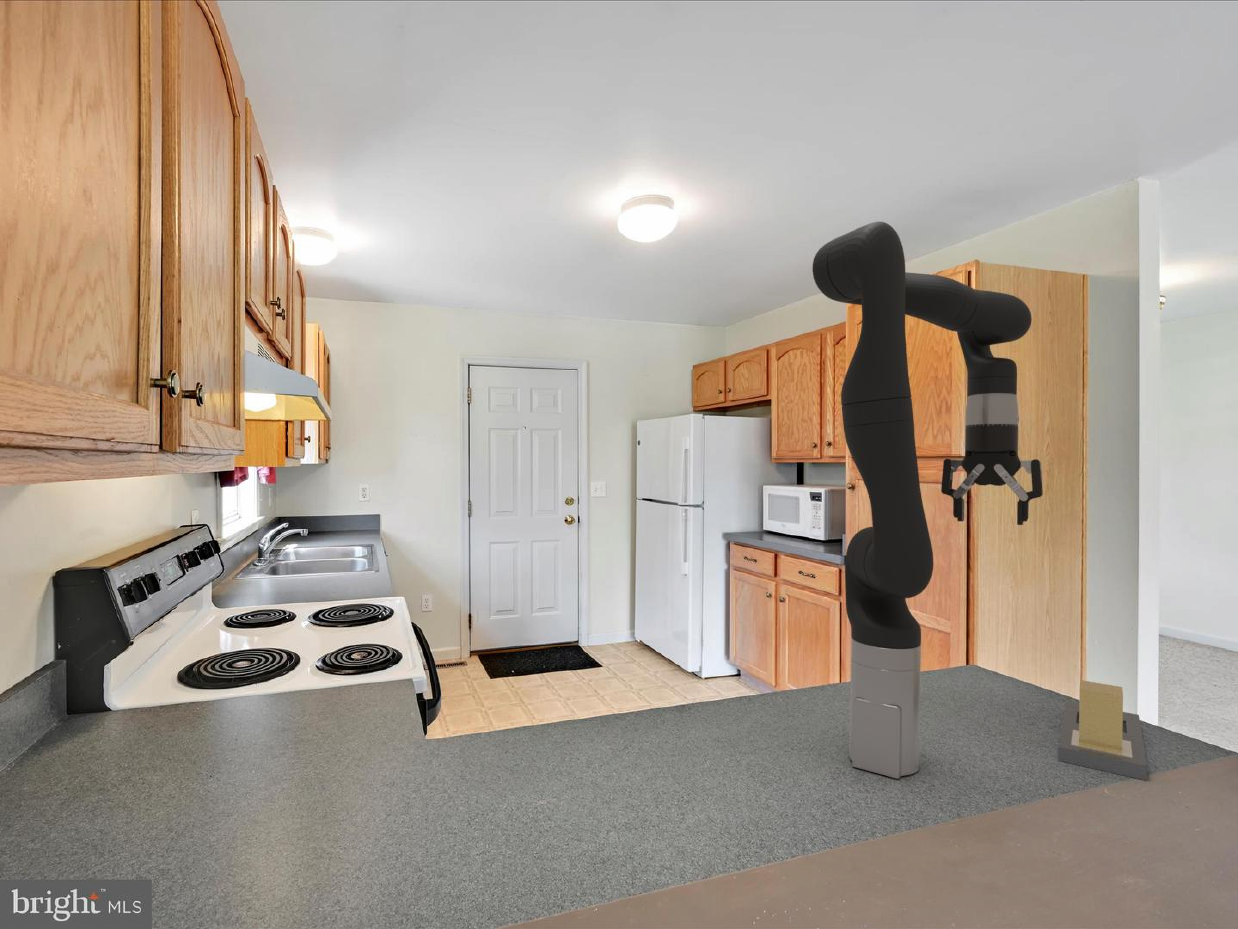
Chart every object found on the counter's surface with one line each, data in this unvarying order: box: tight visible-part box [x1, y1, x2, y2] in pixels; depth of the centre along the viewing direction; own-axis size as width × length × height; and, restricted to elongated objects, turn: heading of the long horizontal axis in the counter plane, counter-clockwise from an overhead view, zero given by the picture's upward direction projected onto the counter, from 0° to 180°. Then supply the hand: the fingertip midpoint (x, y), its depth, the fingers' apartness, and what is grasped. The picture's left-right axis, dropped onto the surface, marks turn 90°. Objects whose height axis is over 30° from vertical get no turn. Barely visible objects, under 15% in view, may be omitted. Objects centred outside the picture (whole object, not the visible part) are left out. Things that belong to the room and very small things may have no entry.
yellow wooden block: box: [1078, 679, 1124, 753], centre depth 97 cm, size 5×5×8 cm
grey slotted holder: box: [1057, 700, 1148, 782], centre depth 102 cm, size 24×10×2 cm, turn 144°
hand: (989, 523), depth 108 cm, fingers open, 8 cm apart
